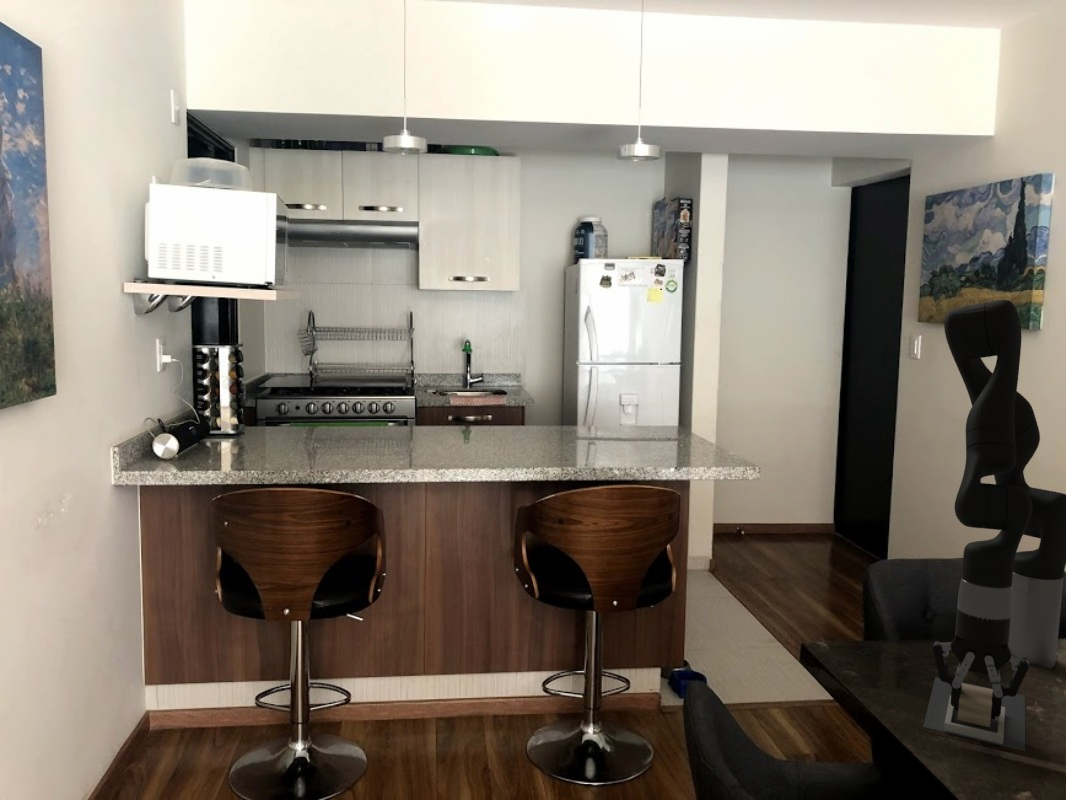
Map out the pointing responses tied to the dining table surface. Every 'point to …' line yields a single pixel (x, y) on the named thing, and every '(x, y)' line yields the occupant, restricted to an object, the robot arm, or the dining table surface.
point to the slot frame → (974, 731)
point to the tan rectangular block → (975, 705)
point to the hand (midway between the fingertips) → (975, 712)
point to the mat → (1012, 724)
